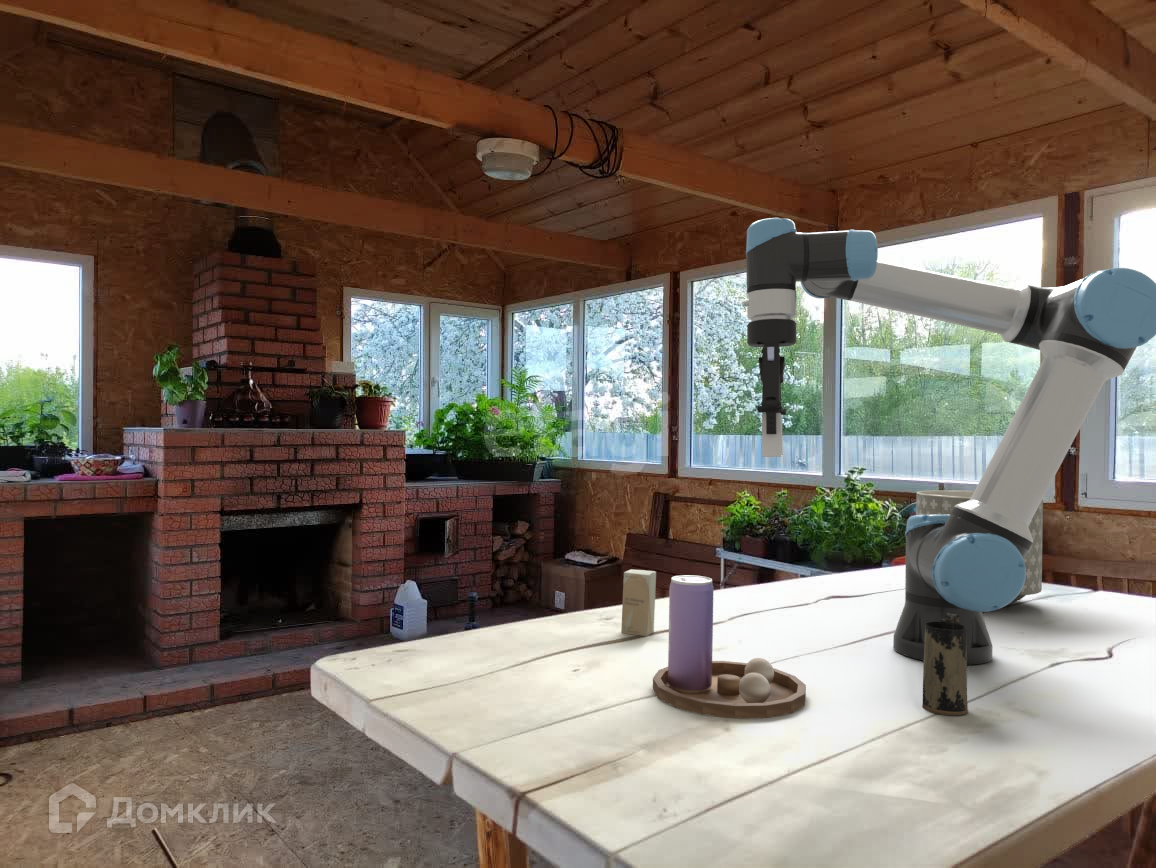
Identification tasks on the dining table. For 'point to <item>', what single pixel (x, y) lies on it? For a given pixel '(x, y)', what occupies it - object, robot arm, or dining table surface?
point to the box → (638, 602)
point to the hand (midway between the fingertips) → (772, 456)
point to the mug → (945, 667)
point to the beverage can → (690, 634)
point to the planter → (946, 500)
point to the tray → (734, 704)
